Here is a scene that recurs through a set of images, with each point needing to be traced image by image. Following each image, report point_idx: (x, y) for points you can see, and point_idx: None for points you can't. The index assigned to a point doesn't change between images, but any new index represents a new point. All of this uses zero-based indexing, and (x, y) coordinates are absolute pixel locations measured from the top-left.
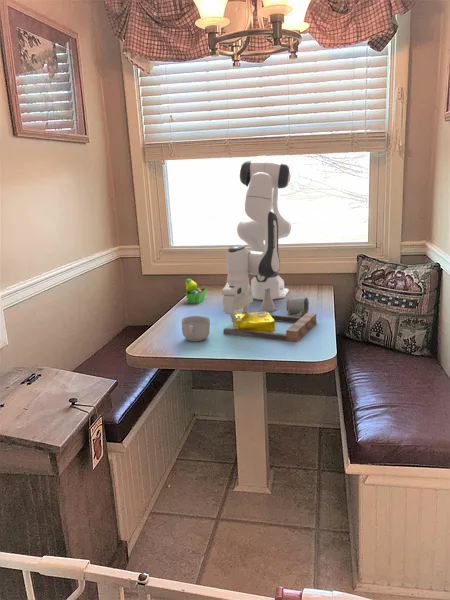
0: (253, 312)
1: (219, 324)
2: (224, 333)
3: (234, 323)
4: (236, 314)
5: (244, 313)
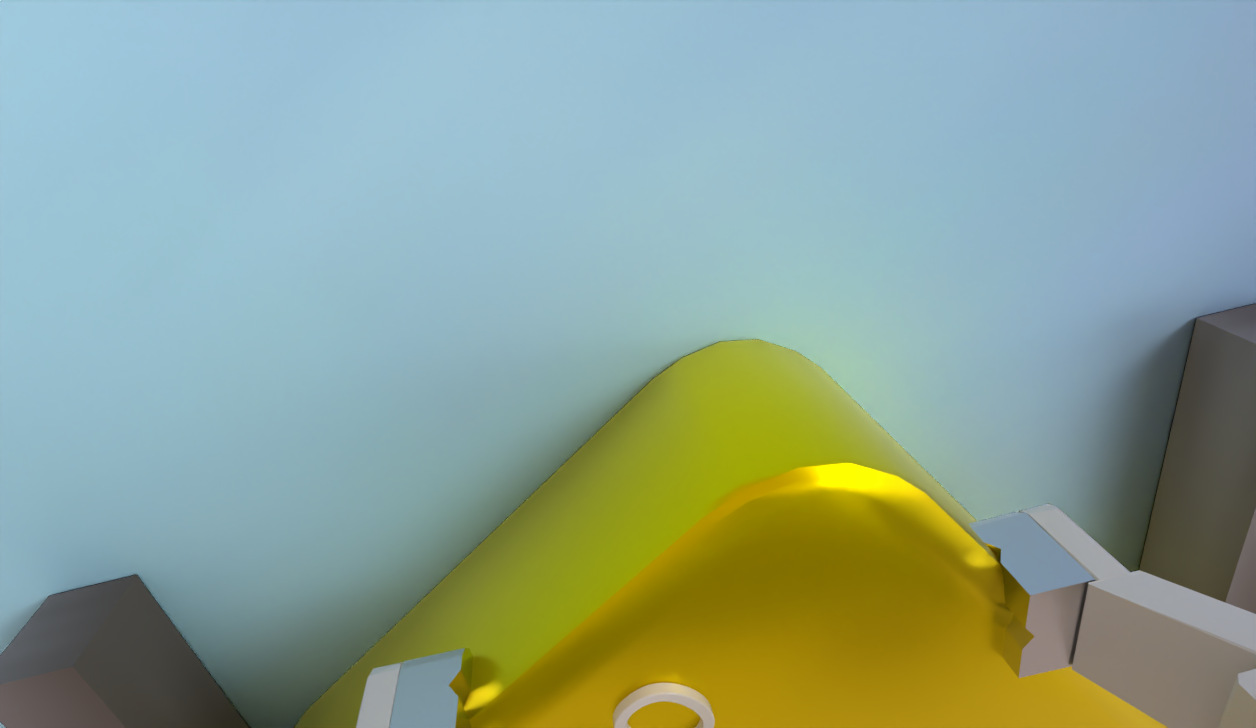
0: (1115, 719)
1: (501, 28)
2: (54, 615)
3: (503, 586)
4: (840, 547)
5: (993, 635)
